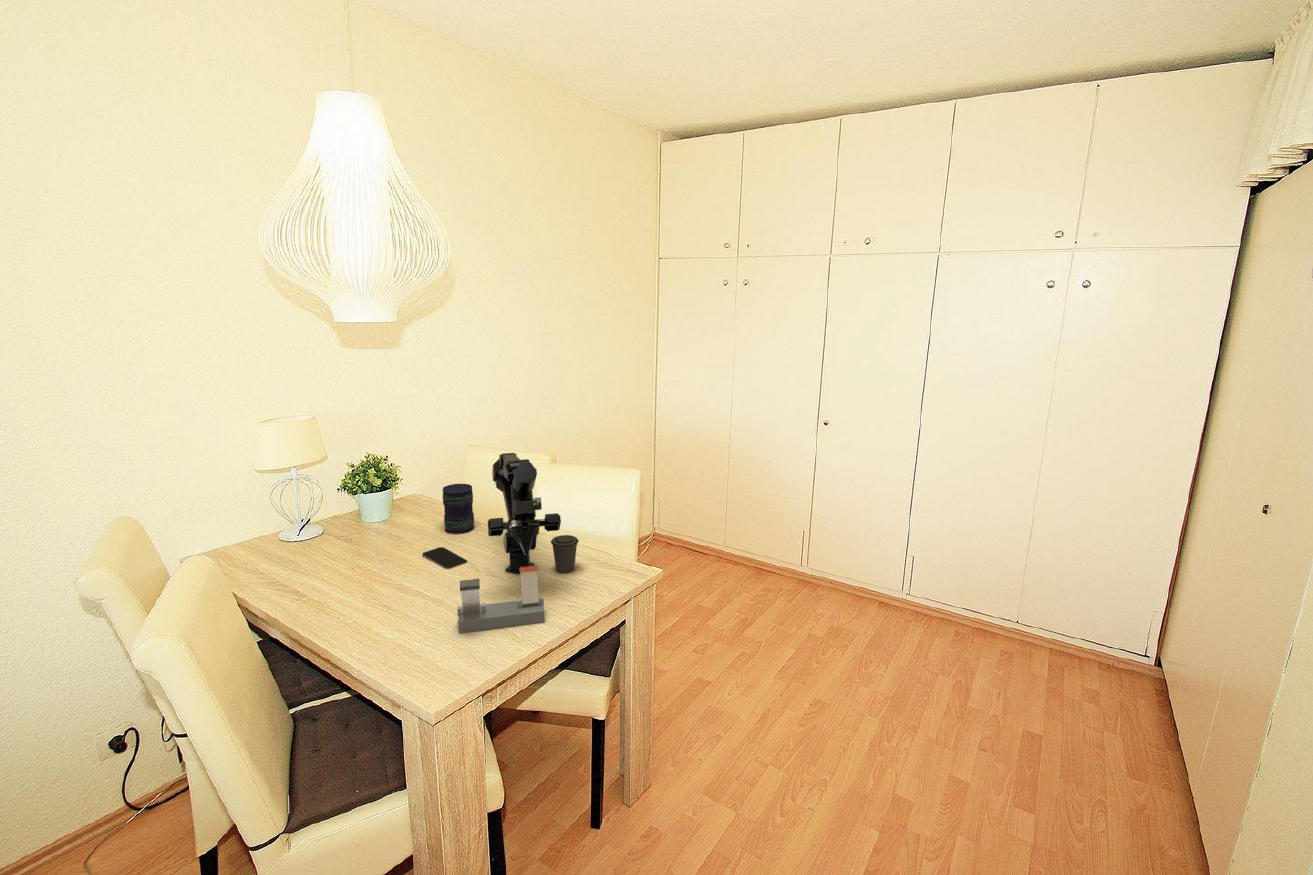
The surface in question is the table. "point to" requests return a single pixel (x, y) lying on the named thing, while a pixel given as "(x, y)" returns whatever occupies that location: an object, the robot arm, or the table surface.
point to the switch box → (501, 615)
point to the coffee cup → (564, 552)
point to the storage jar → (458, 508)
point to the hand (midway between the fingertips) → (526, 554)
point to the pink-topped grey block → (529, 584)
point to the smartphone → (444, 558)
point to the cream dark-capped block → (470, 595)
